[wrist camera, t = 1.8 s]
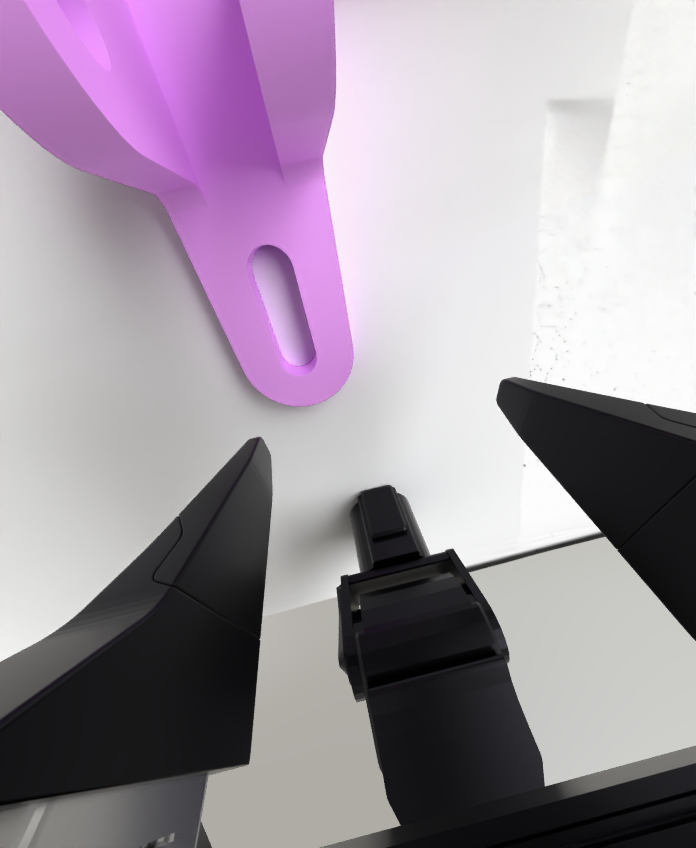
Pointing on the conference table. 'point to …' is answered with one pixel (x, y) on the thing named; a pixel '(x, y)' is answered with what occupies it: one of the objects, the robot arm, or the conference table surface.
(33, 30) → the bracket
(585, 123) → the conference table surface
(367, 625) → the robot arm
